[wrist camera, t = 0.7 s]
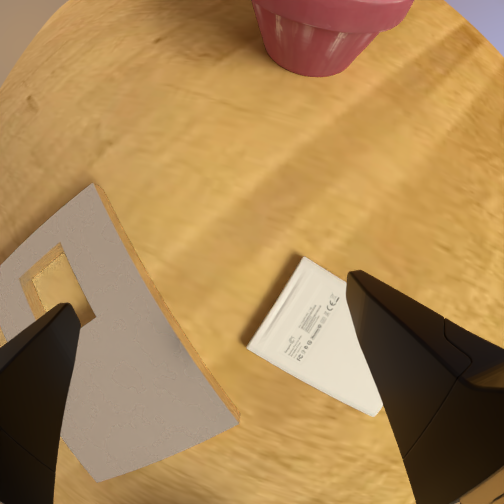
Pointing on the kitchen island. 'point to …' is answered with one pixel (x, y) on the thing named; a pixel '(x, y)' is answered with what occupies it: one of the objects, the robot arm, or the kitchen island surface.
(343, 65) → the plant pot
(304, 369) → the external hard drive
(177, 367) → the plate
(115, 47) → the kitchen island surface
